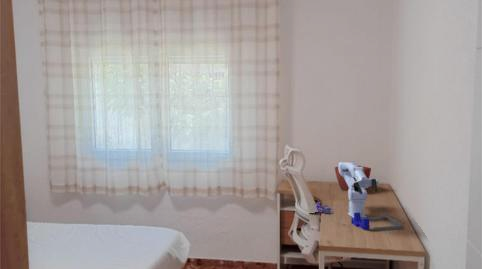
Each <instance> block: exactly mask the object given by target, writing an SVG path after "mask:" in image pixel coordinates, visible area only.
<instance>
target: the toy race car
mask: <svg viewBox="0 0 482 269" xmlns="http://www.w3.org/2000/svg"><path fill="white" fill-rule="evenodd" d="M315 205H316V207H317V210H318V213H317V214H325V213H328V214H327V215H329V214H332V213H333V214H334V212H333V208H332V207H329V205H327V204H324V205H323V206H321V201H319V202H318V201H317V202H316V203H315Z"/></svg>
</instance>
